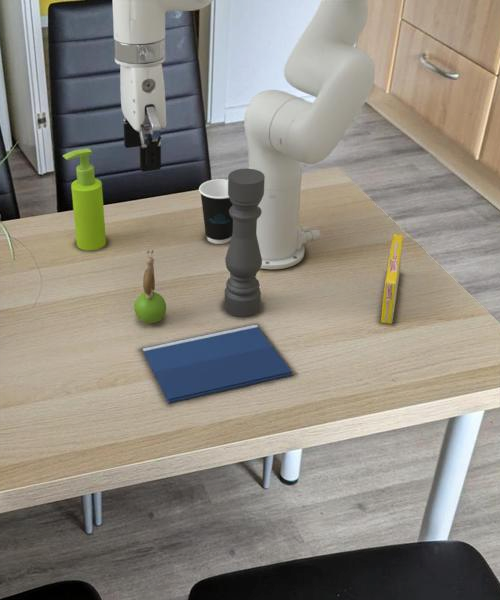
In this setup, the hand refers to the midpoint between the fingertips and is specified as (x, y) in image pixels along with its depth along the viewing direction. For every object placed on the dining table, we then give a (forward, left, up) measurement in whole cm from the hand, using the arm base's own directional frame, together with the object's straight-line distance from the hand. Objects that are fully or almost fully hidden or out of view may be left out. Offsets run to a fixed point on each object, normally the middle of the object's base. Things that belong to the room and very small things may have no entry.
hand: (142, 157), depth 132 cm
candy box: (-40, +13, -28) cm, 51 cm away
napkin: (-5, +20, -28) cm, 35 cm away
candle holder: (-15, +7, -28) cm, 33 cm away
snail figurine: (+1, +5, -28) cm, 28 cm away
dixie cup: (-20, -17, -28) cm, 38 cm away
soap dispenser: (+5, -24, -28) cm, 37 cm away
